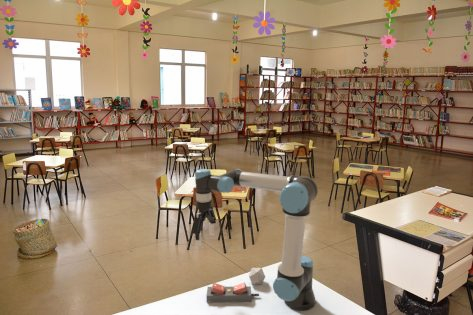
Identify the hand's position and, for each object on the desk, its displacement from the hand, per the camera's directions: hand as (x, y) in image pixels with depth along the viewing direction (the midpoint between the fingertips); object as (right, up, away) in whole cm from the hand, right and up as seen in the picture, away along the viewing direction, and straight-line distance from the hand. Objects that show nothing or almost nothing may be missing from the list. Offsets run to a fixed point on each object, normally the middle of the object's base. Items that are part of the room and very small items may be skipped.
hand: (205, 240), depth 189 cm
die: (+27, -26, +11) cm, 39 cm away
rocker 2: (+18, -25, -3) cm, 31 cm away
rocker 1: (+6, -25, -3) cm, 26 cm away
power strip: (+14, -28, -2) cm, 32 cm away
